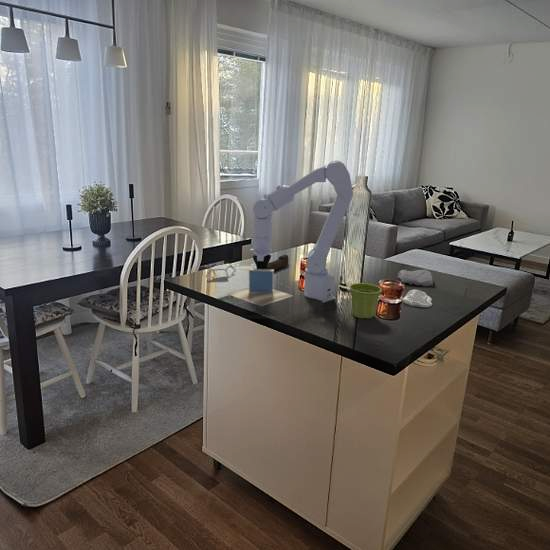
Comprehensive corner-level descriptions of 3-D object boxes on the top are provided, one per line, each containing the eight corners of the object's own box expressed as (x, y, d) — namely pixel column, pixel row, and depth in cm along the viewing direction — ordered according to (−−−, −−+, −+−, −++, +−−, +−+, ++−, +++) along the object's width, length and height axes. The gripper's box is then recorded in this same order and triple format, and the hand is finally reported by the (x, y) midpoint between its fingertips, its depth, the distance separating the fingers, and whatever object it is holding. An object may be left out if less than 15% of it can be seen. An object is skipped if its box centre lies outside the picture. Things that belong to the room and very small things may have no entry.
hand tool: (267, 276, 182) (268, 264, 180) (259, 274, 184) (259, 262, 183) (293, 266, 197) (294, 255, 196) (285, 264, 199) (285, 253, 198)
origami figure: (223, 285, 168) (223, 272, 167) (204, 281, 172) (204, 268, 170) (242, 277, 178) (242, 264, 177) (223, 274, 182) (223, 261, 181)
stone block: (433, 291, 175) (428, 278, 184) (435, 279, 173) (430, 267, 182) (400, 290, 176) (396, 278, 185) (401, 279, 174) (398, 266, 183)
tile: (273, 291, 159) (273, 269, 156) (273, 293, 158) (273, 271, 155) (249, 290, 159) (249, 268, 156) (248, 292, 158) (248, 270, 155)
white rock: (419, 284, 162) (441, 293, 154) (418, 296, 163) (439, 306, 155) (396, 287, 158) (417, 296, 149) (394, 300, 159) (415, 310, 150)
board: (293, 298, 157) (293, 295, 156) (261, 309, 146) (261, 306, 146) (258, 287, 167) (258, 284, 167) (226, 296, 157) (226, 293, 156)
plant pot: (357, 307, 150) (359, 281, 148) (384, 315, 145) (387, 287, 142) (341, 315, 143) (343, 287, 141) (369, 323, 138) (372, 295, 135)
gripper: (252, 231, 162) (251, 270, 166) (247, 240, 148) (247, 282, 152) (273, 232, 162) (272, 271, 165) (270, 241, 148) (269, 283, 151)
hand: (261, 277), depth 159 cm, fingers closed
